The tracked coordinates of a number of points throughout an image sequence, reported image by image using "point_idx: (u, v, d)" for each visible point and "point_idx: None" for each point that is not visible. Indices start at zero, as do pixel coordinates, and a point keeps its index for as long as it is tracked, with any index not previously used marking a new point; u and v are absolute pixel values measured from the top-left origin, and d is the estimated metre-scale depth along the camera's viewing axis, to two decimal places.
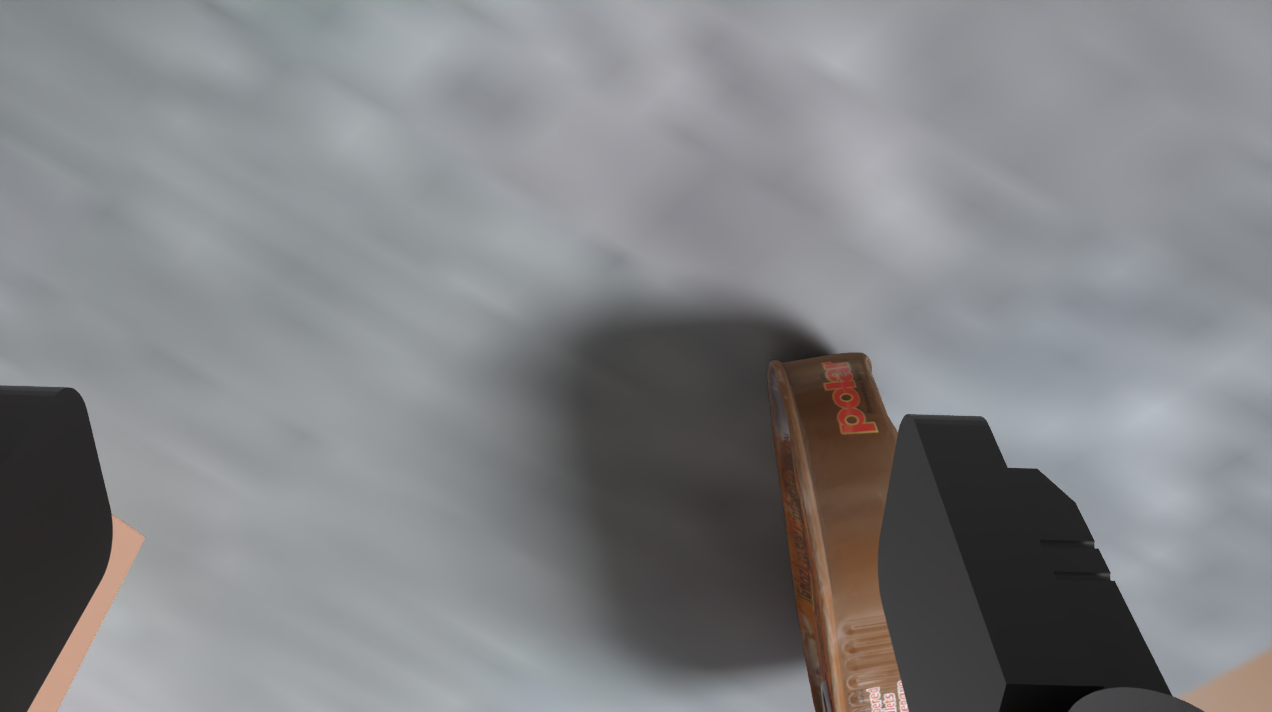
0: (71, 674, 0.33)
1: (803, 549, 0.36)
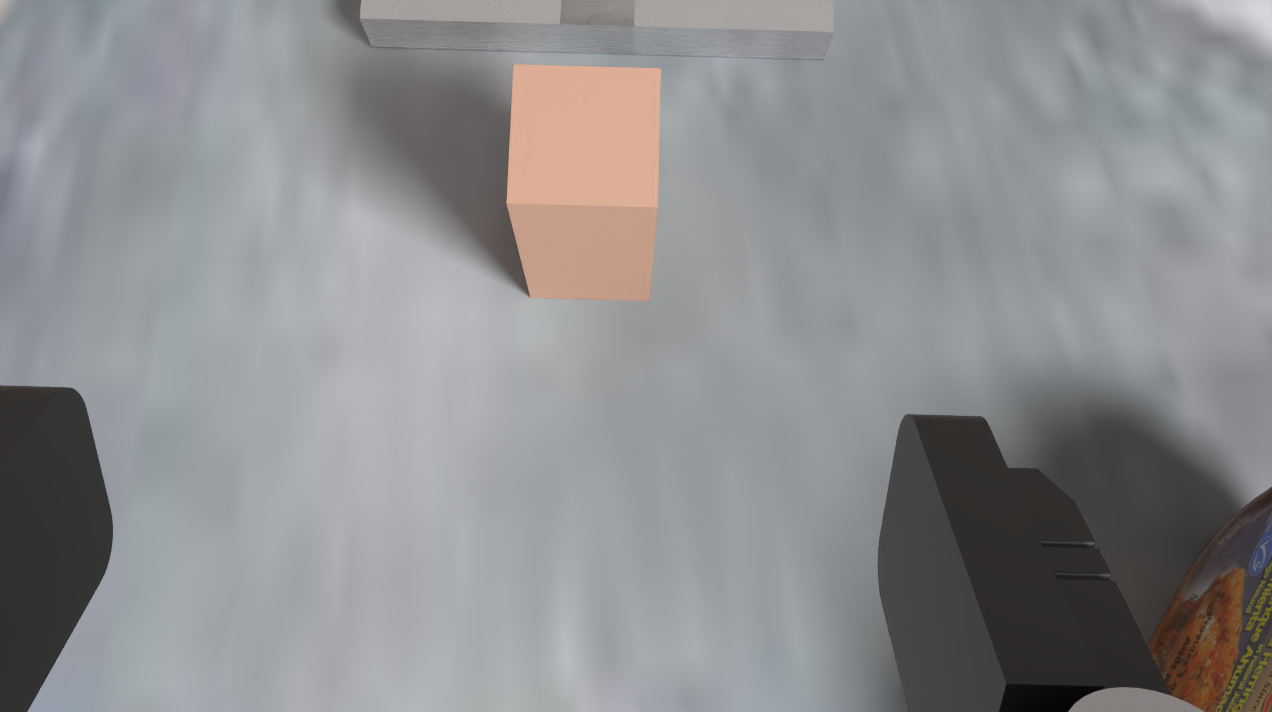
0: None
1: None
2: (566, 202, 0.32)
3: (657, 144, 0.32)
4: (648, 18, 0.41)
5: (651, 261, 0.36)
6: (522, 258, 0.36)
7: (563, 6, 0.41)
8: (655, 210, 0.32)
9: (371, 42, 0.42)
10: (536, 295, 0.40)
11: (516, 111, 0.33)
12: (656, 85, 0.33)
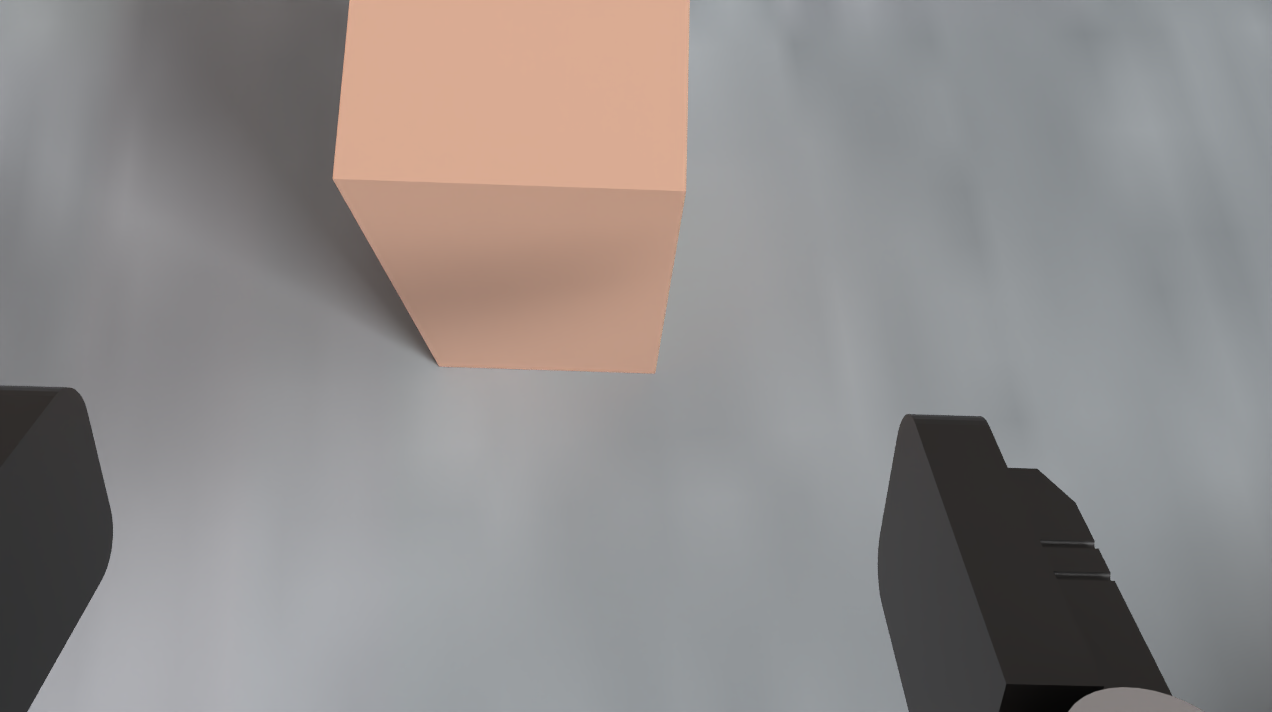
0: None
1: None
2: (472, 178, 0.14)
3: (684, 48, 0.14)
4: None
5: (663, 307, 0.18)
6: (405, 299, 0.18)
7: None
8: (680, 198, 0.14)
9: None
10: (449, 363, 0.22)
11: None
12: None
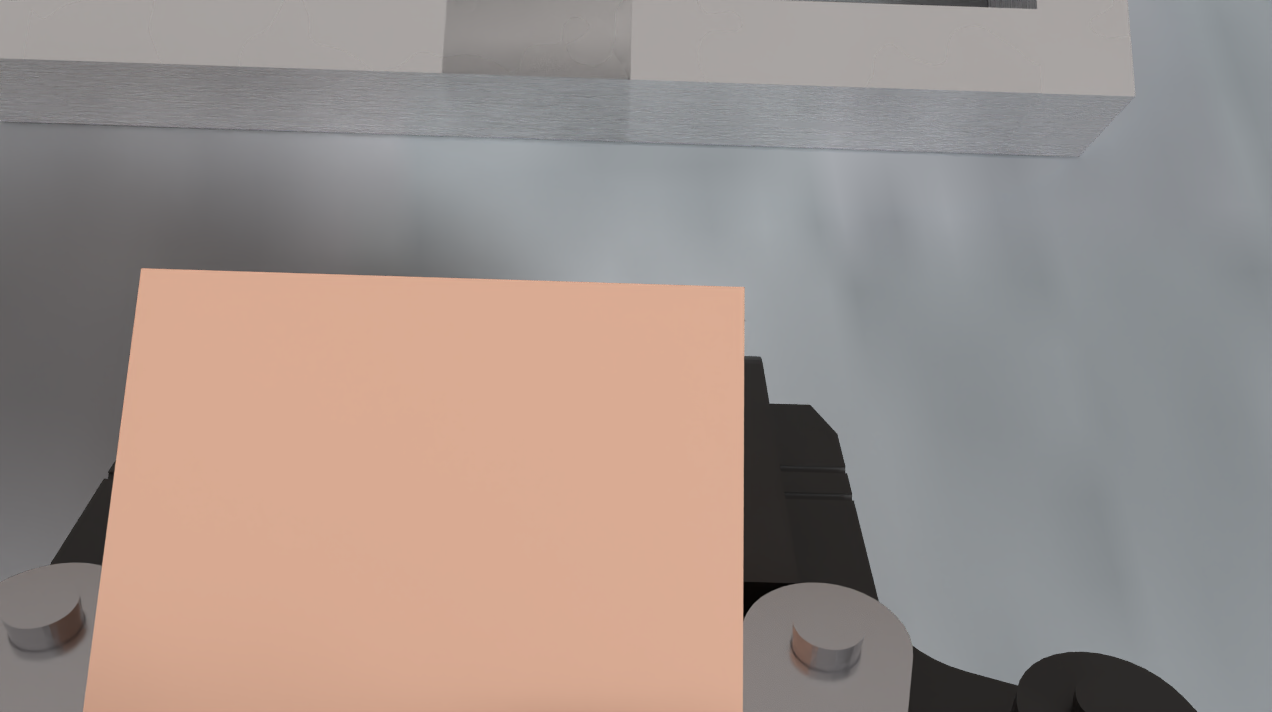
0: None
1: None
2: None
3: (735, 626, 0.08)
4: (666, 60, 0.16)
5: None
6: None
7: (451, 28, 0.16)
8: None
9: None
10: None
11: (136, 474, 0.08)
12: (728, 362, 0.08)
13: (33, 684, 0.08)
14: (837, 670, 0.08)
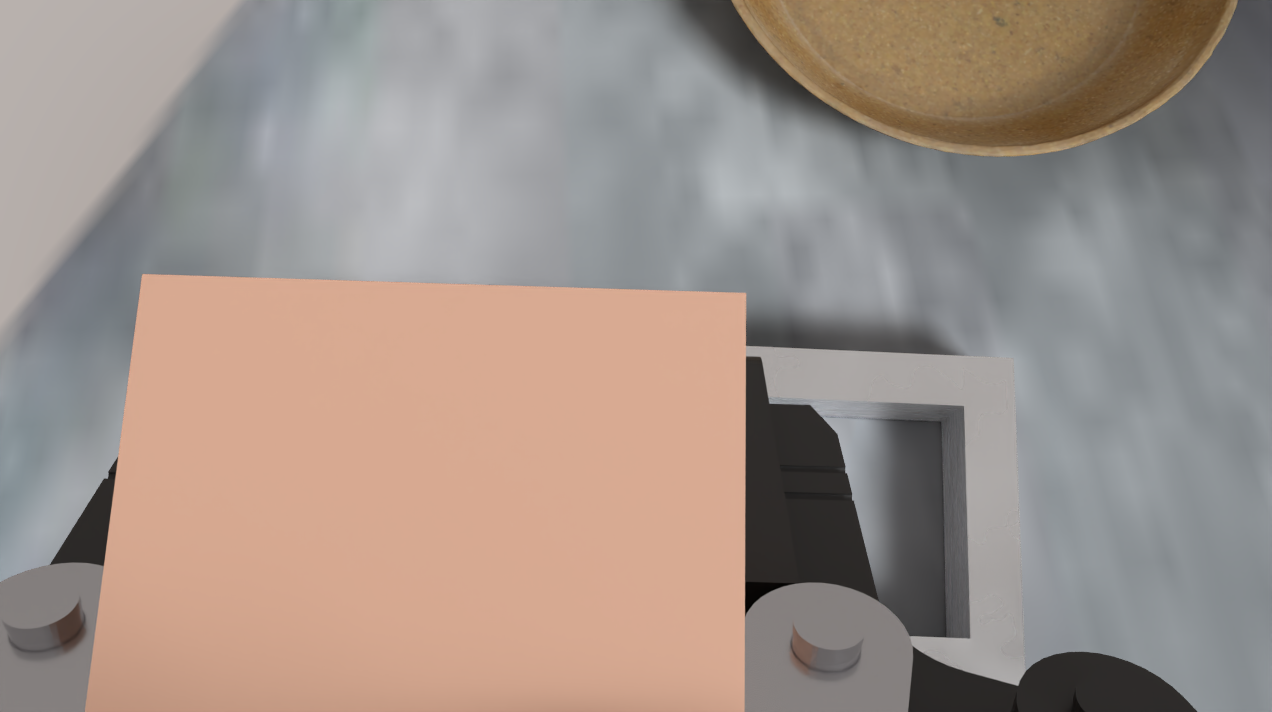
0: None
1: None
2: None
3: (737, 633, 0.08)
4: None
5: None
6: None
7: None
8: None
9: None
10: None
11: (137, 480, 0.08)
12: (730, 368, 0.08)
13: (33, 684, 0.08)
14: (836, 670, 0.08)
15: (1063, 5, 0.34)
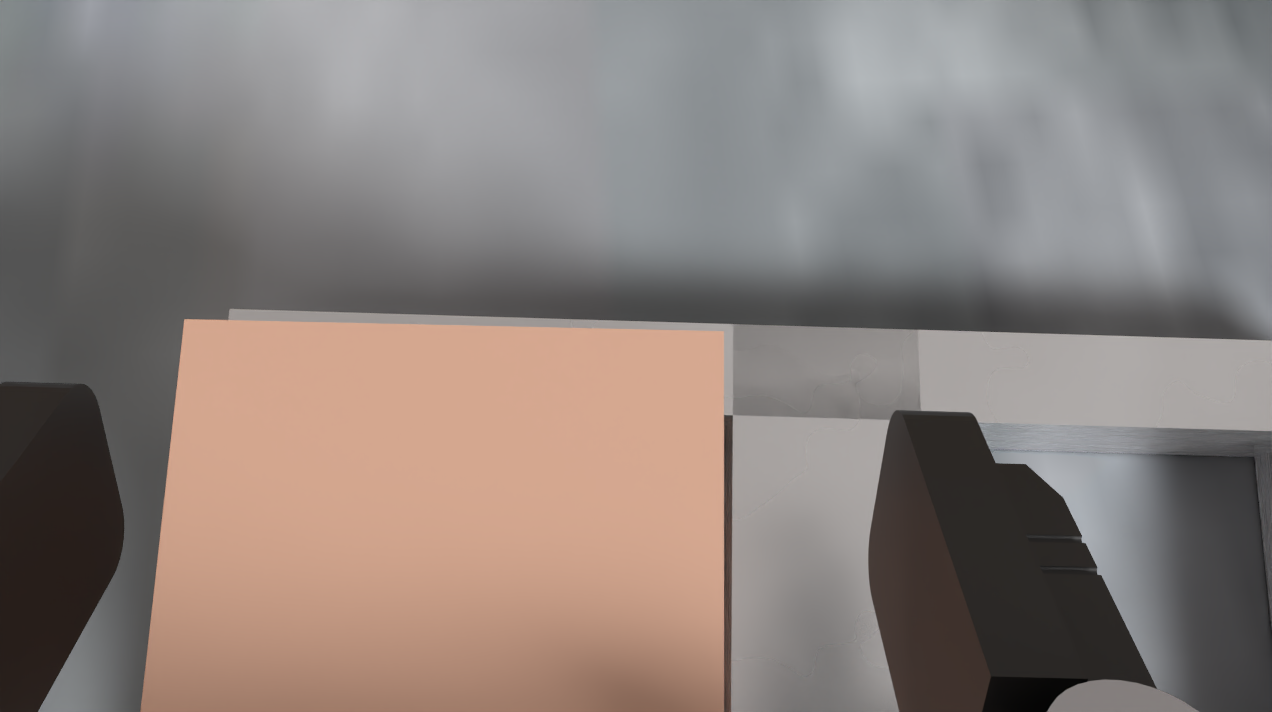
0: None
1: None
2: None
3: (717, 635, 0.08)
4: None
5: None
6: None
7: None
8: None
9: None
10: None
11: (182, 504, 0.09)
12: (710, 398, 0.09)
13: None
14: None
15: None
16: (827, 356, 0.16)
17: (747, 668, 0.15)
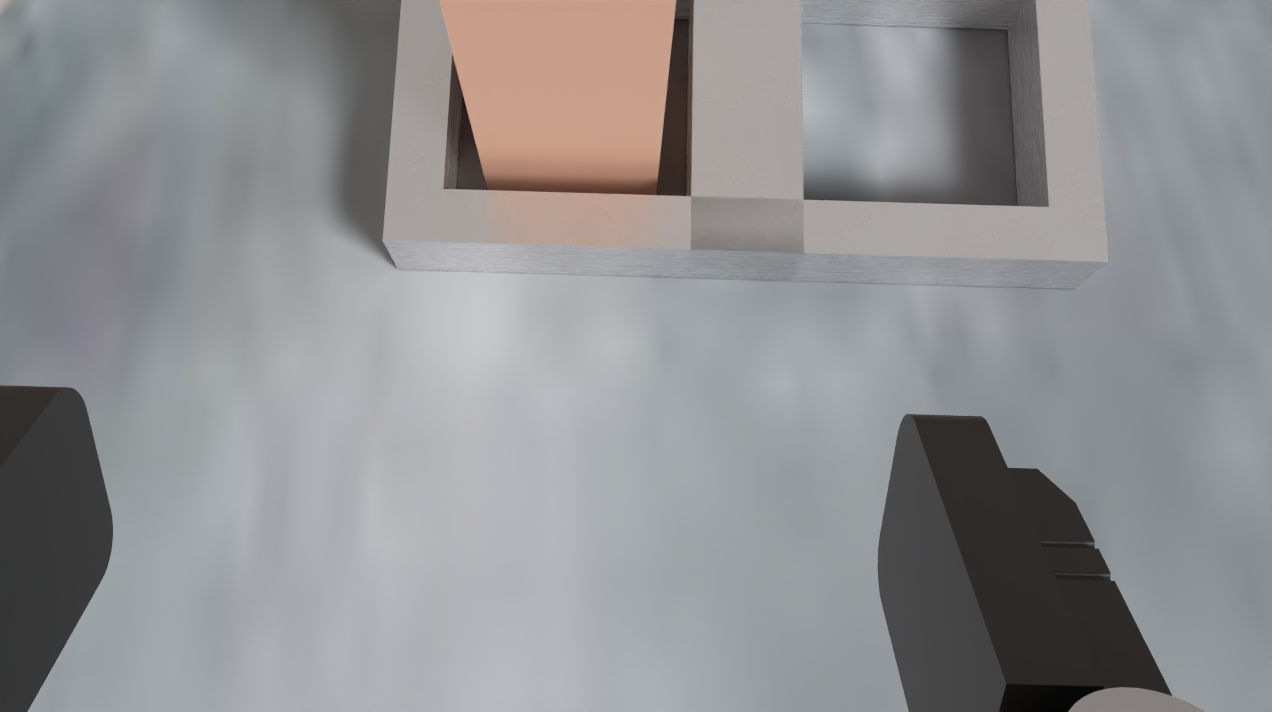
0: (666, 90, 0.24)
1: None
2: None
3: None
4: (825, 240, 0.27)
5: (661, 120, 0.25)
6: (471, 116, 0.25)
7: (695, 221, 0.27)
8: (672, 8, 0.21)
9: (398, 264, 0.28)
10: None
11: None
12: None
13: None
14: None
15: None
16: None
17: (701, 103, 0.27)
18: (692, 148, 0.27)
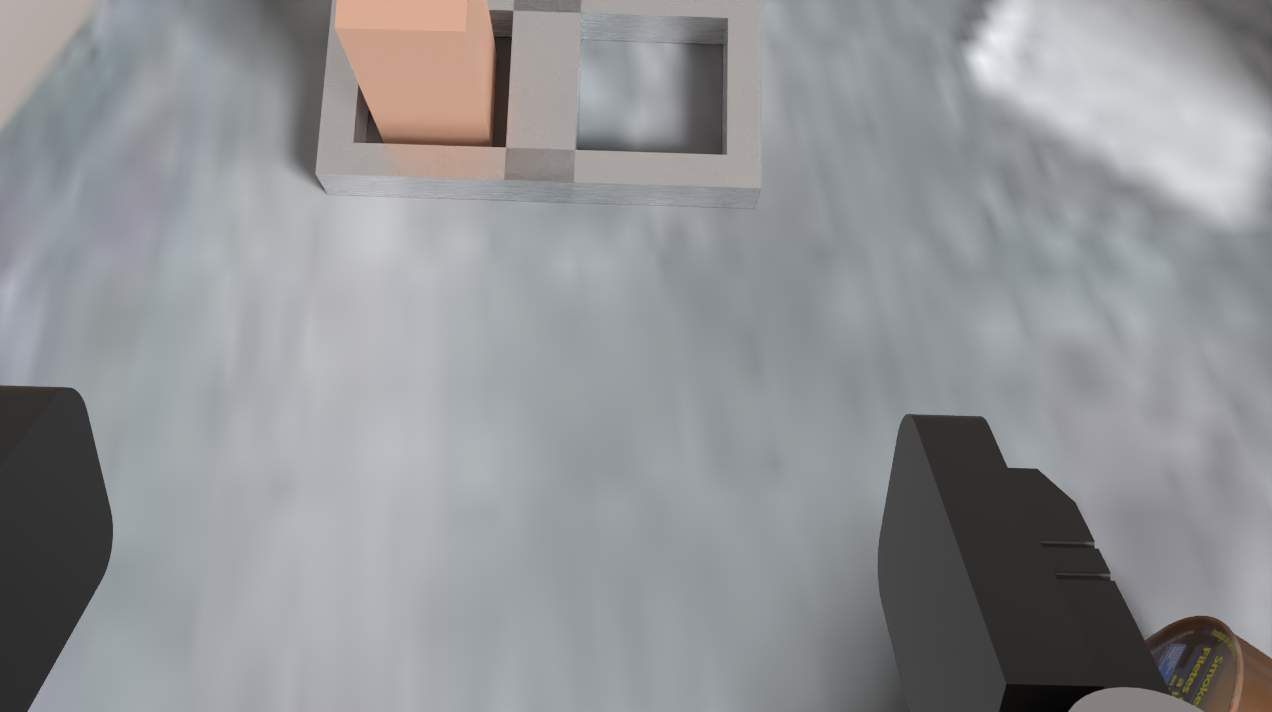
0: (477, 81, 0.41)
1: None
2: (386, 27, 0.37)
3: None
4: (587, 174, 0.44)
5: (479, 99, 0.42)
6: (366, 97, 0.42)
7: (507, 162, 0.44)
8: (464, 35, 0.37)
9: (327, 191, 0.45)
10: None
11: None
12: None
13: None
14: None
15: None
16: None
17: (514, 90, 0.44)
18: (508, 118, 0.44)
